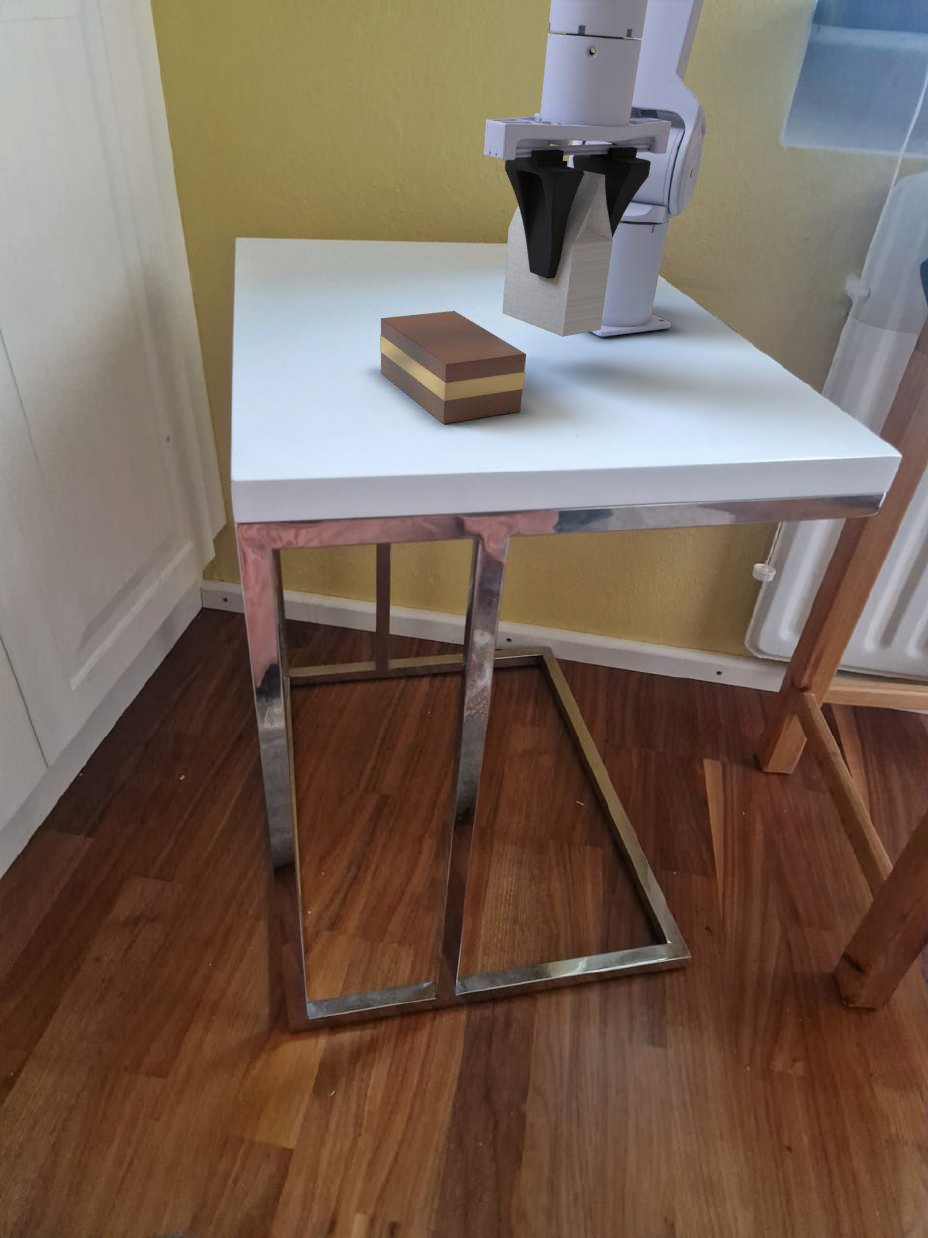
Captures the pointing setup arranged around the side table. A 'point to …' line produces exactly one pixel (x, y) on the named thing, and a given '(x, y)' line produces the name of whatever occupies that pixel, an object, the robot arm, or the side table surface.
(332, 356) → the side table surface
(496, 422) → the side table surface
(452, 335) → the snack box
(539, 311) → the white milk carton
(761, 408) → the side table surface
